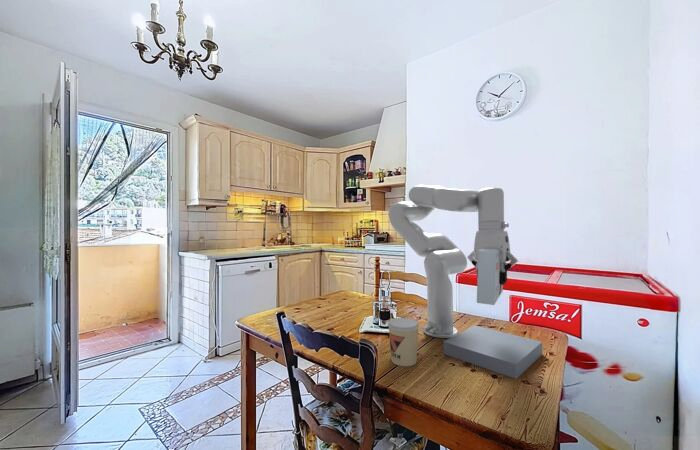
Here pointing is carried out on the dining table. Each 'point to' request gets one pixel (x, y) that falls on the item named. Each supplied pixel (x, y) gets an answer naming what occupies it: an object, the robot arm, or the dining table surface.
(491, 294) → the skincare box
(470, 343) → the podium
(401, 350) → the coffee cup
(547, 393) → the dining table surface
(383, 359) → the dining table surface
